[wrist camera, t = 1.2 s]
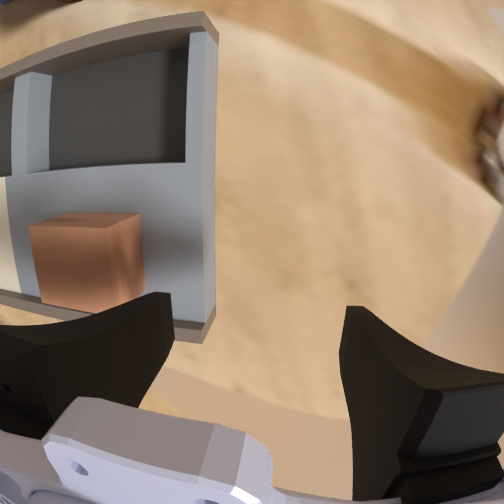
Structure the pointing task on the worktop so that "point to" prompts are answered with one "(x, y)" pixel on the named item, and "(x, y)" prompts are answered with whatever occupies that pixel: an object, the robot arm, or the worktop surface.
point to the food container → (70, 1)
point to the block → (88, 260)
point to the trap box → (116, 155)
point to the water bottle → (4, 1)
